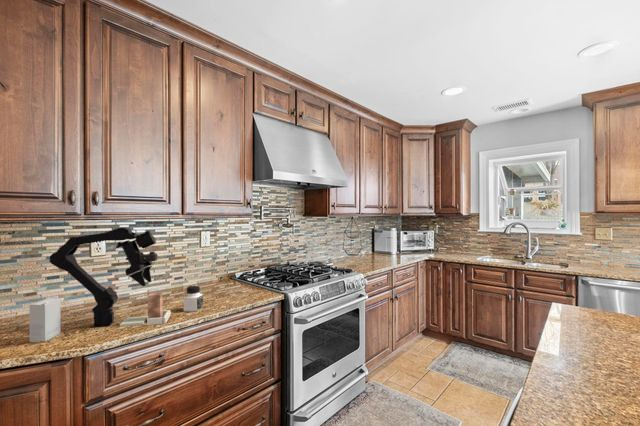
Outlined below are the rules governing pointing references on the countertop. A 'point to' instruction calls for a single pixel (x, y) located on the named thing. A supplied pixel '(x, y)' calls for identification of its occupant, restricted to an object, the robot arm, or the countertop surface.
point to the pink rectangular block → (155, 305)
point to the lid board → (134, 321)
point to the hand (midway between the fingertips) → (147, 283)
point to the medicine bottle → (193, 299)
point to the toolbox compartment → (159, 320)
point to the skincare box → (44, 320)
